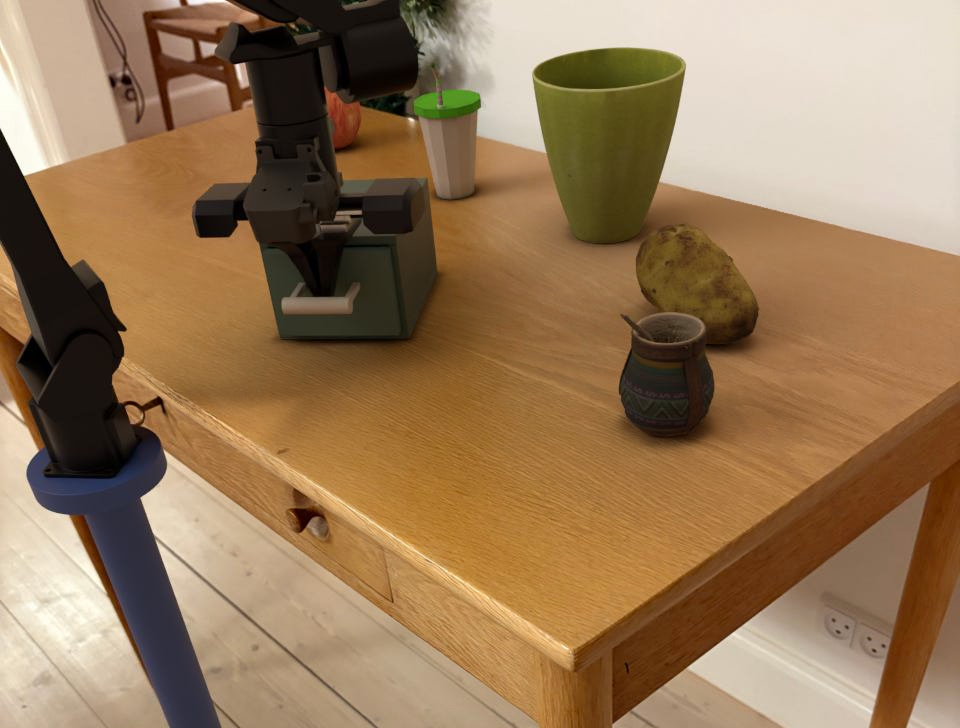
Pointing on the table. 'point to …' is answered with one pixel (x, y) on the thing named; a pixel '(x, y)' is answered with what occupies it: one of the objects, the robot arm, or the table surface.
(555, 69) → the flower pot
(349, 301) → the drawer
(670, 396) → the mate gourd
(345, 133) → the fruit
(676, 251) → the potato
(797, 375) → the table surface
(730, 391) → the table surface
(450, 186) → the cup
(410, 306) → the cabinet
